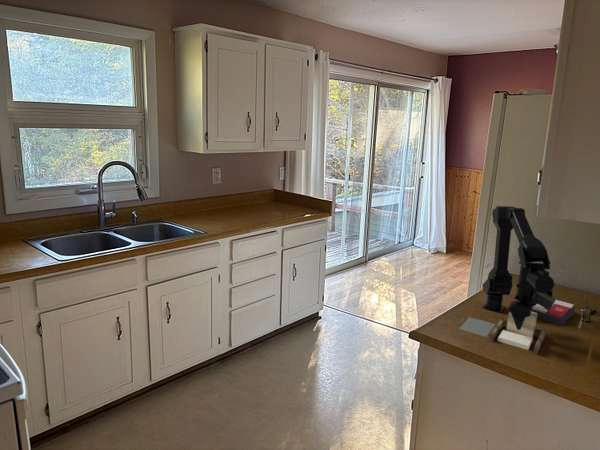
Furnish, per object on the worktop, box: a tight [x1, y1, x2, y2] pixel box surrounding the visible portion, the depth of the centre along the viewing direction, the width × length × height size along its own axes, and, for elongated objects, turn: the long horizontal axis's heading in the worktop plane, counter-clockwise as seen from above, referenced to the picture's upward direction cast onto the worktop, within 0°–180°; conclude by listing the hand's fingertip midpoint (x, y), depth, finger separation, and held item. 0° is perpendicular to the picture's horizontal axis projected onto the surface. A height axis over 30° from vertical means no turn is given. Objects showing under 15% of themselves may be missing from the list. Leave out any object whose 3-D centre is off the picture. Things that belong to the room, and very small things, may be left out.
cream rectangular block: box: [505, 311, 538, 339], centre depth 153 cm, size 4×8×9 cm, turn 54°
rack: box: [489, 318, 547, 356], centre depth 151 cm, size 15×14×3 cm
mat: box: [459, 316, 496, 338], centre depth 159 cm, size 12×9×1 cm
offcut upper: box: [497, 329, 534, 350], centre depth 149 cm, size 6×9×1 cm
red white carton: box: [532, 299, 576, 326], centre depth 172 cm, size 11×4×15 cm
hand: (521, 325), depth 153 cm, fingers open, 7 cm apart
